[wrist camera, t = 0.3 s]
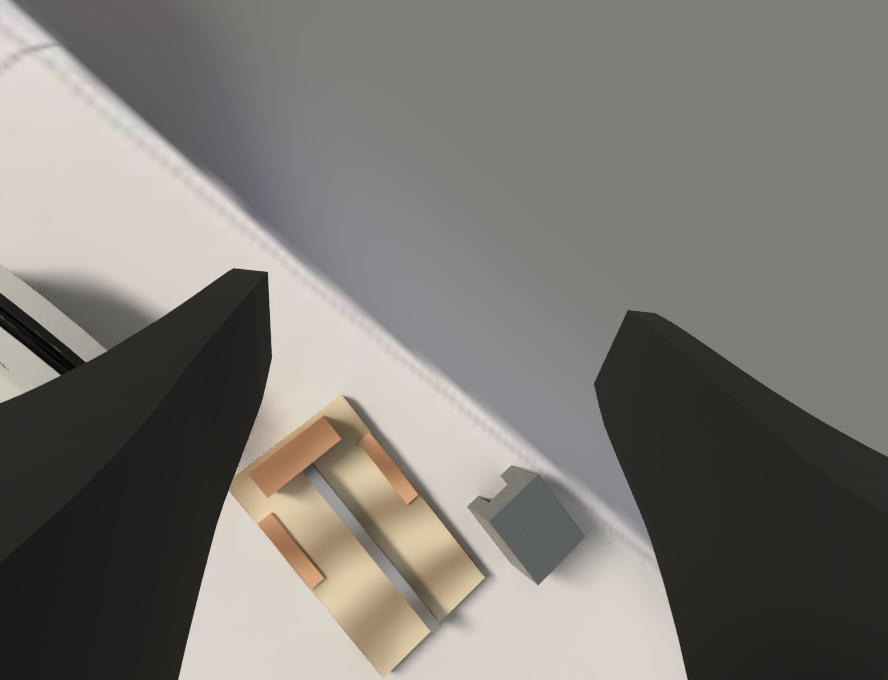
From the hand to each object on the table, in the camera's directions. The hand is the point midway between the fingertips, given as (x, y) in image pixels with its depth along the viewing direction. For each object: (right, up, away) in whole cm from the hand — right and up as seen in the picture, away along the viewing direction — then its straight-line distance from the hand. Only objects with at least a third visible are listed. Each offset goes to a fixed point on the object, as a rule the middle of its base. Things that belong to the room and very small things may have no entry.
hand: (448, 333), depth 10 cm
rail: (-6, -14, +28) cm, 32 cm away
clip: (+5, -14, +31) cm, 35 cm away
